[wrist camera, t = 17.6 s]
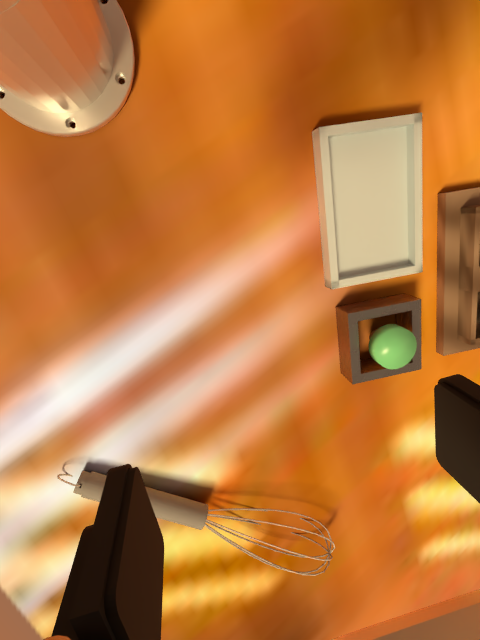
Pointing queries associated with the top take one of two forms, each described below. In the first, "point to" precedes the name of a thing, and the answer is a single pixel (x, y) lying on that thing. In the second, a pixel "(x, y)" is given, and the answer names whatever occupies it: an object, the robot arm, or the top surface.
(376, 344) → the button
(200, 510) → the kitchen whisk
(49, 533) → the top surface
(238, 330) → the top surface
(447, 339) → the brown compartment tray
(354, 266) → the tray
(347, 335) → the open wooden box
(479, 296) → the cylinder
